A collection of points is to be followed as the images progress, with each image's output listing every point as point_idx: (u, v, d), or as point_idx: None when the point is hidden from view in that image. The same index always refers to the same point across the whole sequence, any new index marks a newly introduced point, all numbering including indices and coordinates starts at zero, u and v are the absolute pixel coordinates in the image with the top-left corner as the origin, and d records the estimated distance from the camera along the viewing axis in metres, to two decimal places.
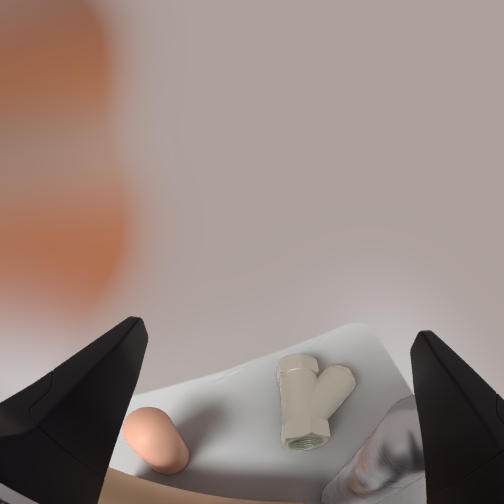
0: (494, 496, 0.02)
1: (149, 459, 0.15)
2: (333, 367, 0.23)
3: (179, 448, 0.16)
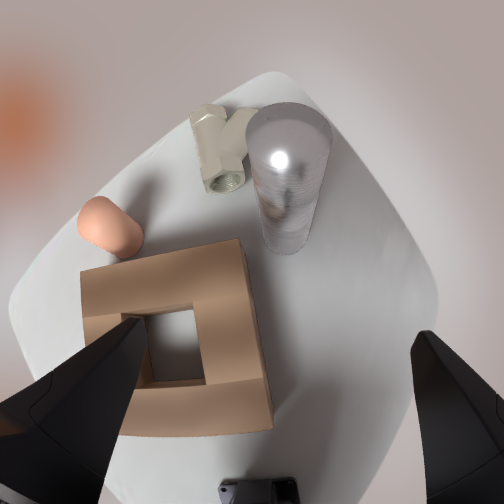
0: (495, 496, 0.02)
1: (106, 245, 0.21)
2: (240, 109, 0.24)
3: (127, 224, 0.22)
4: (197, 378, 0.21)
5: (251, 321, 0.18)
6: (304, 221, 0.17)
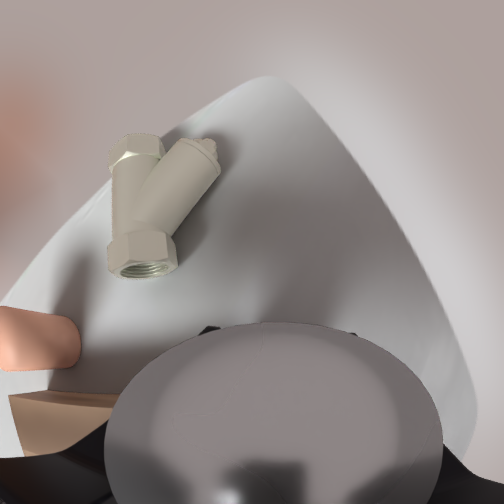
0: None
1: (29, 370, 0.12)
2: (179, 142, 0.15)
3: (49, 342, 0.13)
4: None
5: None
6: None
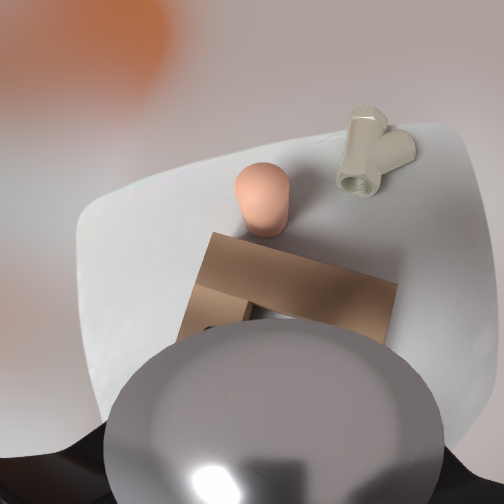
0: None
1: (257, 220, 0.20)
2: (400, 131, 0.22)
3: (287, 208, 0.21)
4: None
5: None
6: None
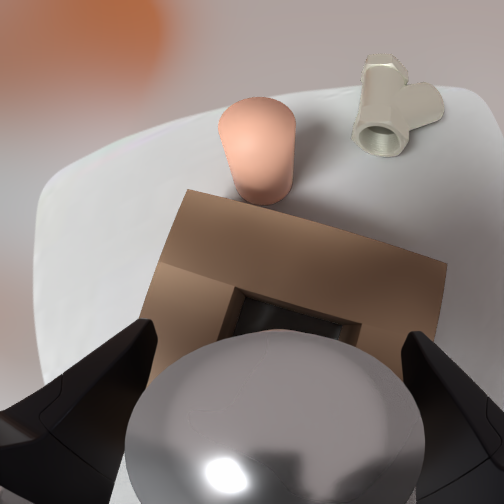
0: (483, 502, 0.02)
1: (250, 173, 0.14)
2: (424, 83, 0.16)
3: (292, 160, 0.14)
4: None
5: None
6: None
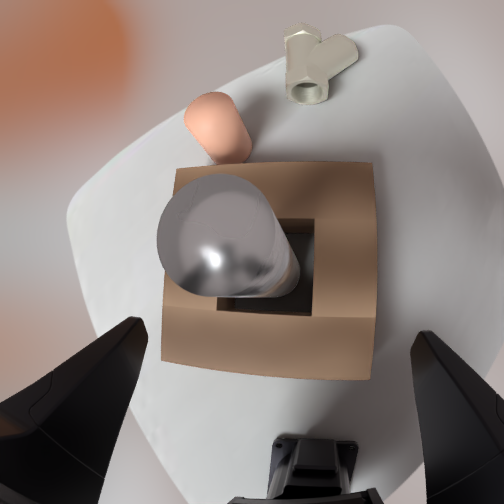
0: (494, 496, 0.02)
1: (215, 145, 0.19)
2: (335, 35, 0.20)
3: (242, 128, 0.20)
4: (287, 311, 0.20)
5: (375, 252, 0.16)
6: (283, 285, 0.14)
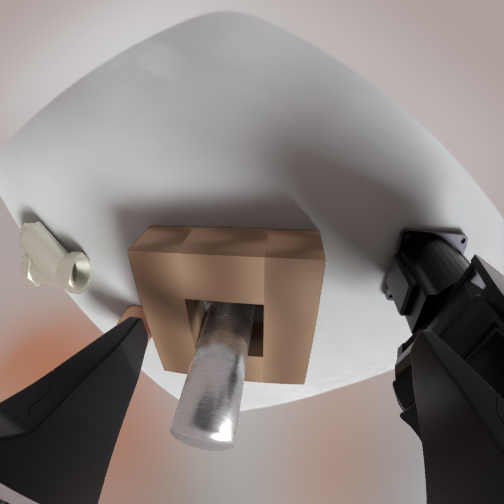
0: (494, 497, 0.02)
1: None
2: (22, 247, 0.22)
3: None
4: None
5: (204, 255, 0.18)
6: (236, 344, 0.18)
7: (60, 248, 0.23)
